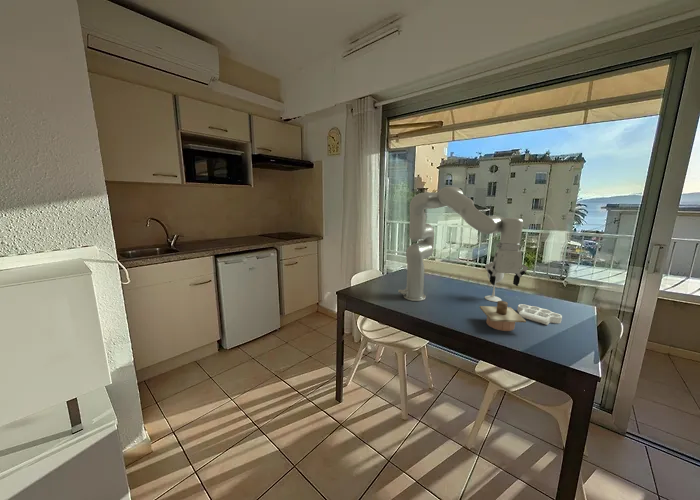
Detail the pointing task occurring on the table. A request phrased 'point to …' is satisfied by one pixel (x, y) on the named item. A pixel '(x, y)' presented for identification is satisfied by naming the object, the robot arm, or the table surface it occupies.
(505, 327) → the bowl
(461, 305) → the table surface
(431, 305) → the table surface
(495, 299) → the wineglass
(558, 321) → the white compartment tray
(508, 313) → the lid
